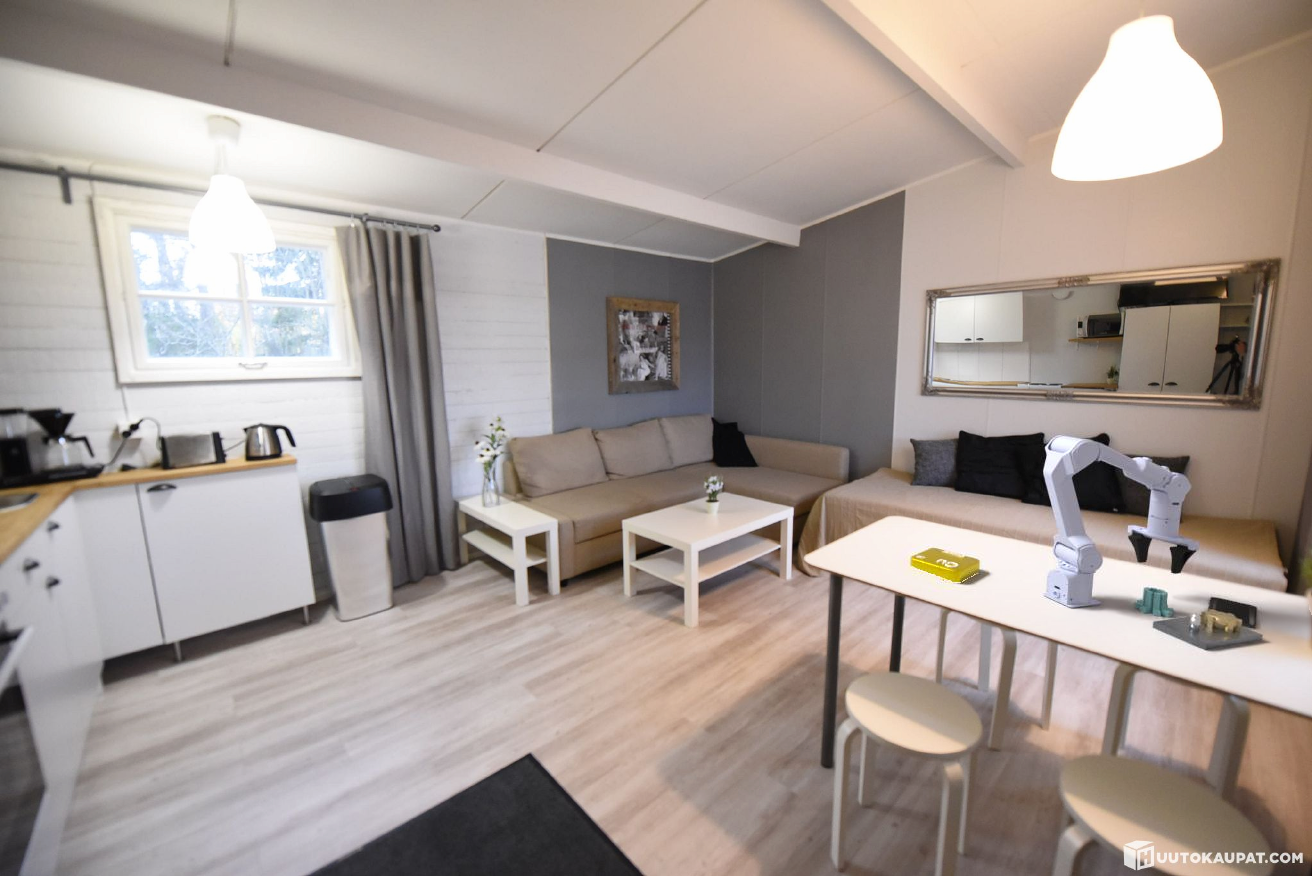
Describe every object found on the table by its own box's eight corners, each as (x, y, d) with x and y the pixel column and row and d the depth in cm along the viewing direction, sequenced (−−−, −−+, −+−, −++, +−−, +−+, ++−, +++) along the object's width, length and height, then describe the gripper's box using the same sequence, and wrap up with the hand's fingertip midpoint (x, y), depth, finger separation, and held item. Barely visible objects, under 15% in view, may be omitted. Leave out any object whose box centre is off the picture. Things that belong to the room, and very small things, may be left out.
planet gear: (1158, 618, 123) (1160, 598, 122) (1127, 605, 130) (1128, 586, 129) (1181, 615, 124) (1183, 595, 123) (1149, 602, 131) (1151, 583, 130)
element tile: (981, 573, 153) (982, 558, 153) (958, 586, 145) (958, 570, 144) (932, 559, 166) (932, 545, 165) (907, 570, 157) (907, 555, 157)
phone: (1257, 606, 126) (1255, 626, 116) (1256, 610, 126) (1255, 631, 116) (1210, 596, 132) (1205, 614, 122) (1209, 600, 132) (1205, 618, 122)
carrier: (1205, 650, 109) (1207, 627, 108) (1152, 627, 119) (1154, 606, 118) (1262, 641, 112) (1265, 618, 111) (1206, 619, 121) (1208, 598, 121)
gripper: (1211, 523, 123) (1205, 576, 125) (1144, 508, 137) (1139, 556, 139) (1189, 526, 121) (1182, 579, 123) (1123, 510, 136) (1118, 558, 137)
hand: (1158, 567), depth 131 cm, fingers open, 7 cm apart
